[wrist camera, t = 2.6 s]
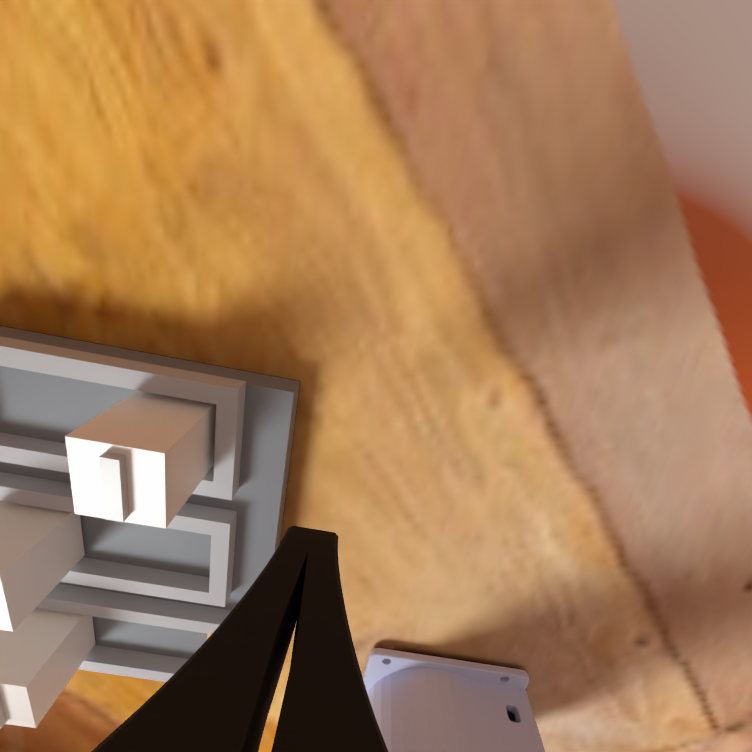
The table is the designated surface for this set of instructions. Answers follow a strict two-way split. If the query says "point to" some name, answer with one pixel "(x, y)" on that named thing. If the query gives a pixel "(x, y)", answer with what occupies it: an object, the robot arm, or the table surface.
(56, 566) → the slider mid
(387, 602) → the table surface
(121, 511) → the slider near
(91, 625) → the slider far
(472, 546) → the table surface
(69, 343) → the switch unit
